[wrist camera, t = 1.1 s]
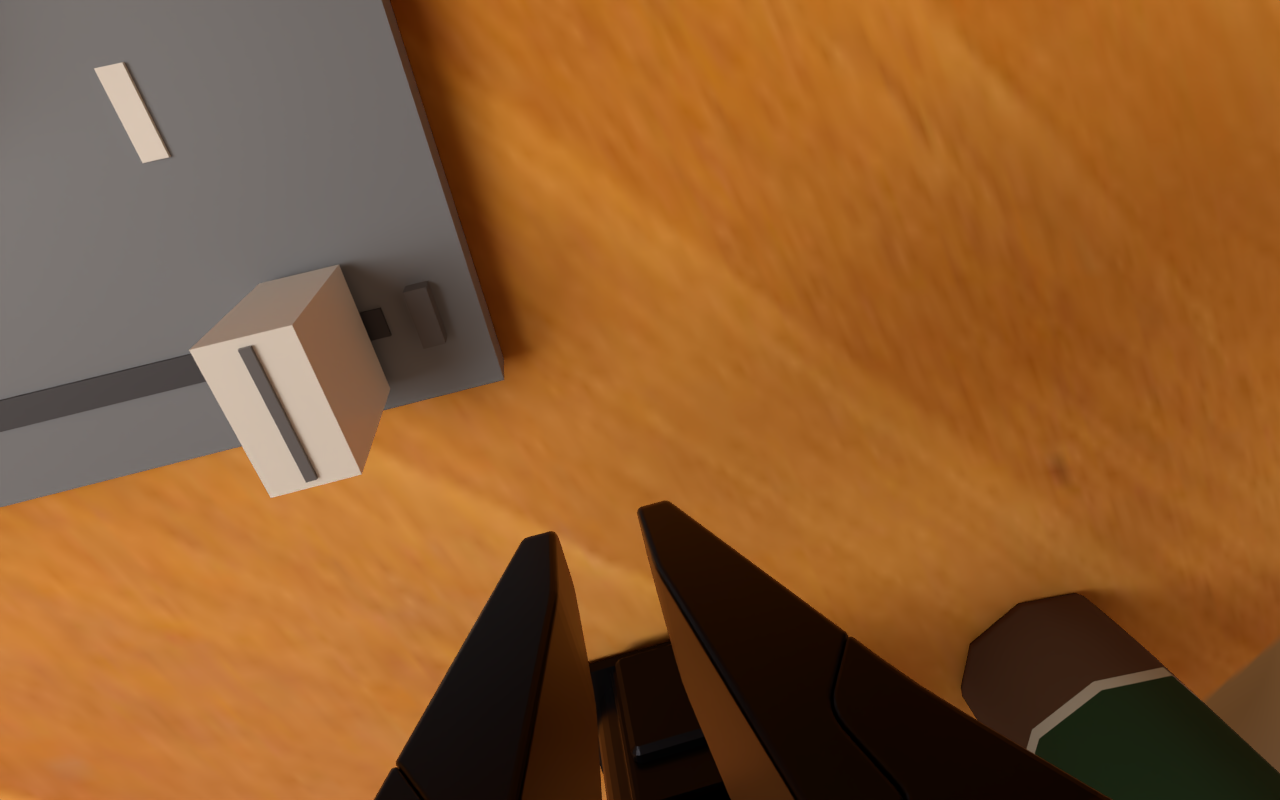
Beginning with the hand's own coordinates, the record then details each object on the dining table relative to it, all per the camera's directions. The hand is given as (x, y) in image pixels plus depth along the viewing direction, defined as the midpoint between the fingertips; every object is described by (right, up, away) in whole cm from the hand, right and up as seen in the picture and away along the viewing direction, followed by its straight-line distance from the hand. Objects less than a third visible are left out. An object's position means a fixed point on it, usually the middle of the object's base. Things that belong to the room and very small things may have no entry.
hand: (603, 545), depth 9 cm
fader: (-8, +3, +9) cm, 13 cm away
